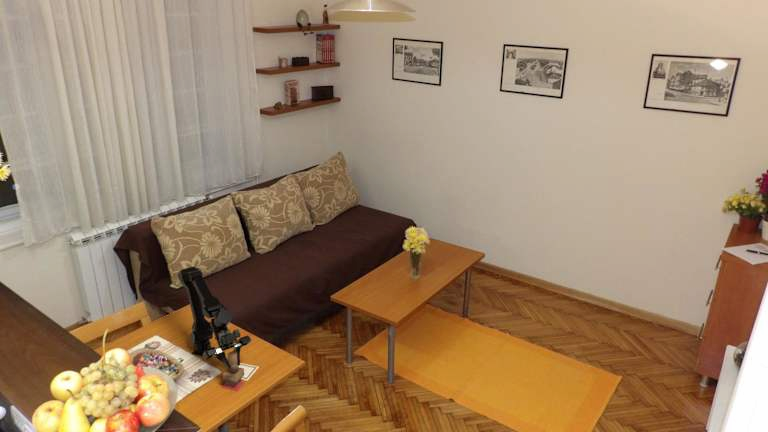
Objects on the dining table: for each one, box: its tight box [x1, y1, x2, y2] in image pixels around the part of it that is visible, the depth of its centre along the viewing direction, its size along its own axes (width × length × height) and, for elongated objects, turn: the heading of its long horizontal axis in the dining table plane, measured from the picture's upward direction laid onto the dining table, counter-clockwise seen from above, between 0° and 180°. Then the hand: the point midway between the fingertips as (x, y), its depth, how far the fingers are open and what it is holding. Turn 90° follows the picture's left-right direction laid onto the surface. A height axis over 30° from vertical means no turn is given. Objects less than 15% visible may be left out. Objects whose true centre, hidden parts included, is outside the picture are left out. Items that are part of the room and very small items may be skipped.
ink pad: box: [221, 380, 246, 392], centre depth 227 cm, size 8×7×1 cm
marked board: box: [238, 362, 259, 382], centre depth 236 cm, size 10×10×1 cm
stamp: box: [222, 351, 244, 383], centre depth 224 cm, size 6×6×11 cm
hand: (234, 367), depth 223 cm, fingers closed on stamp, 4 cm apart
